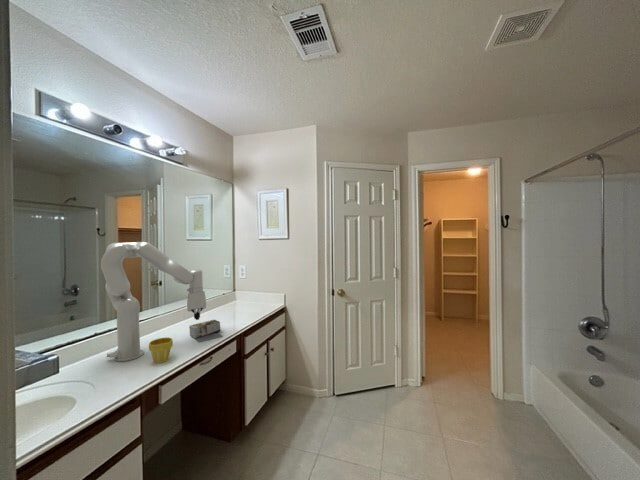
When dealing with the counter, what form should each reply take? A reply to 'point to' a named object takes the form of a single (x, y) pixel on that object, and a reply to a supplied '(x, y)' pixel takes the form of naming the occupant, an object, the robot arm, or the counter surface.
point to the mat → (209, 337)
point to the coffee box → (204, 328)
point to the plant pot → (160, 349)
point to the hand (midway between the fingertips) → (197, 319)
